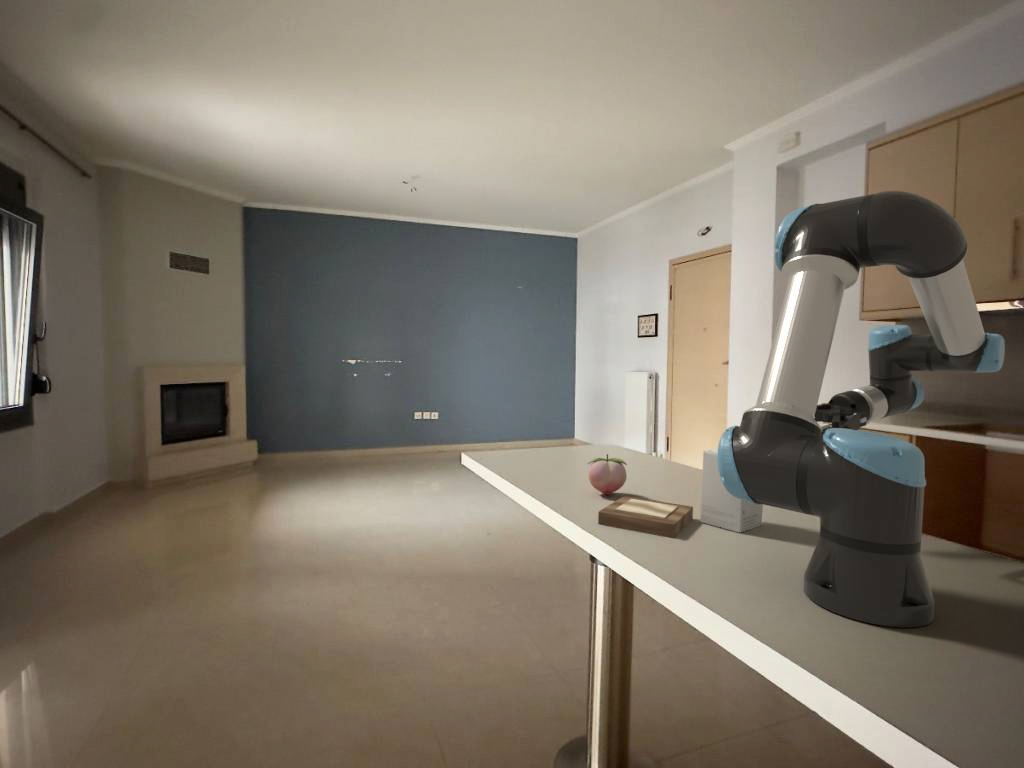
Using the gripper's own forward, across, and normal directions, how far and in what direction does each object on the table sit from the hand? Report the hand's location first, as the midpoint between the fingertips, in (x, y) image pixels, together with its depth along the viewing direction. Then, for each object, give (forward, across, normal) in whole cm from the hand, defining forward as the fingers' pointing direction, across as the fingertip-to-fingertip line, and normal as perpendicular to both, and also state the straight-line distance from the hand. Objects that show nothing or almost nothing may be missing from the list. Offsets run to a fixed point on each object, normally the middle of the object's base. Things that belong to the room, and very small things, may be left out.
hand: (775, 430), depth 111 cm
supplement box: (+13, 0, -17) cm, 21 cm away
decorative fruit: (+27, +27, -17) cm, 42 cm away
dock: (+28, +6, -14) cm, 32 cm away
